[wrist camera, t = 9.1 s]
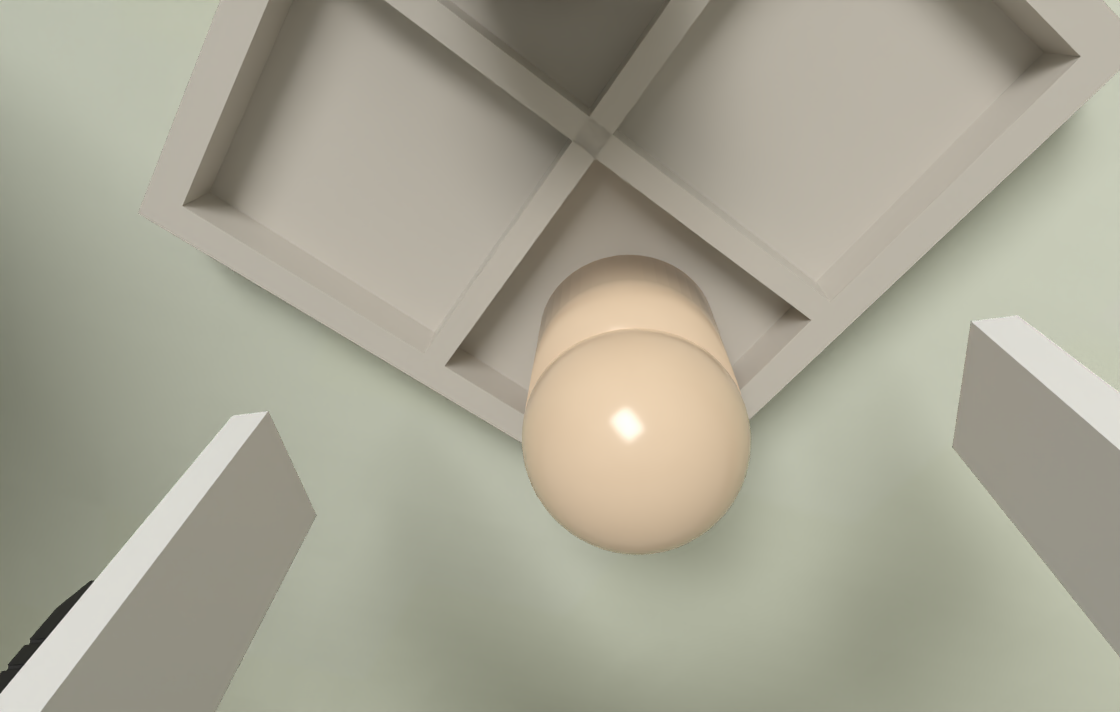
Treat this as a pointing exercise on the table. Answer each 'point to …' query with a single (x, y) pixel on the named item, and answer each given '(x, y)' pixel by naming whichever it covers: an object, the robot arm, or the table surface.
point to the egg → (633, 409)
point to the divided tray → (605, 160)
